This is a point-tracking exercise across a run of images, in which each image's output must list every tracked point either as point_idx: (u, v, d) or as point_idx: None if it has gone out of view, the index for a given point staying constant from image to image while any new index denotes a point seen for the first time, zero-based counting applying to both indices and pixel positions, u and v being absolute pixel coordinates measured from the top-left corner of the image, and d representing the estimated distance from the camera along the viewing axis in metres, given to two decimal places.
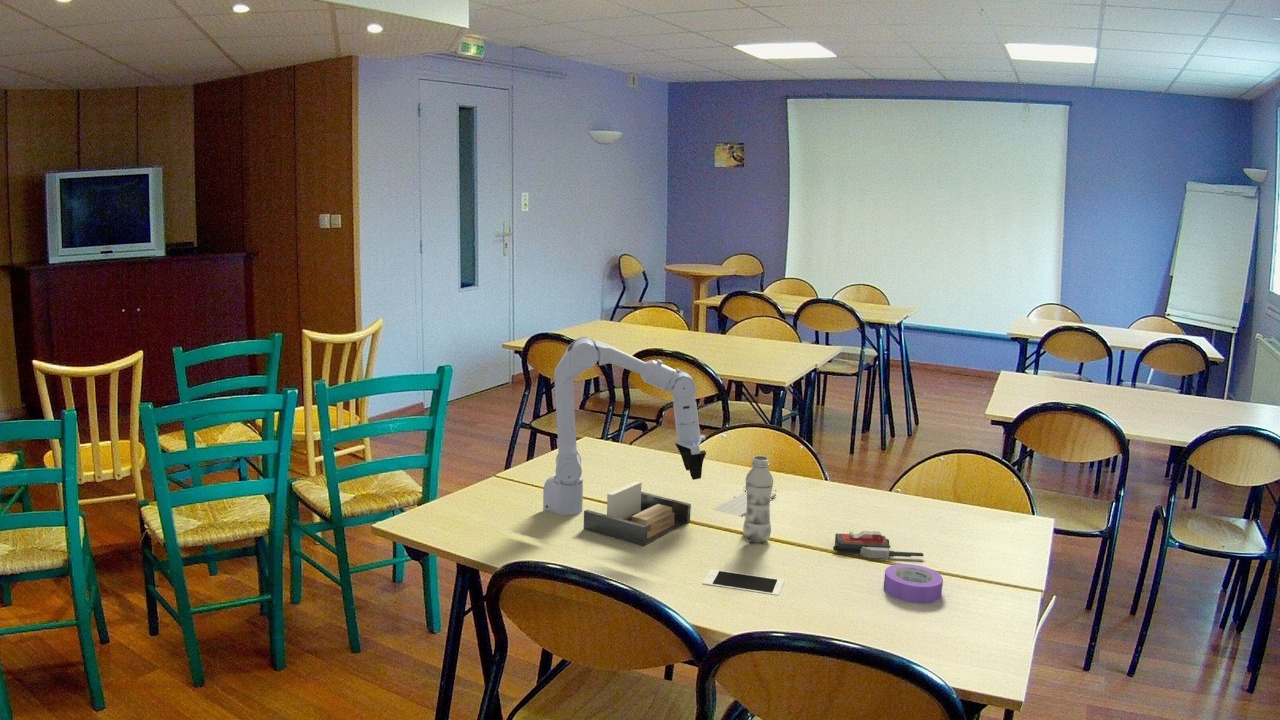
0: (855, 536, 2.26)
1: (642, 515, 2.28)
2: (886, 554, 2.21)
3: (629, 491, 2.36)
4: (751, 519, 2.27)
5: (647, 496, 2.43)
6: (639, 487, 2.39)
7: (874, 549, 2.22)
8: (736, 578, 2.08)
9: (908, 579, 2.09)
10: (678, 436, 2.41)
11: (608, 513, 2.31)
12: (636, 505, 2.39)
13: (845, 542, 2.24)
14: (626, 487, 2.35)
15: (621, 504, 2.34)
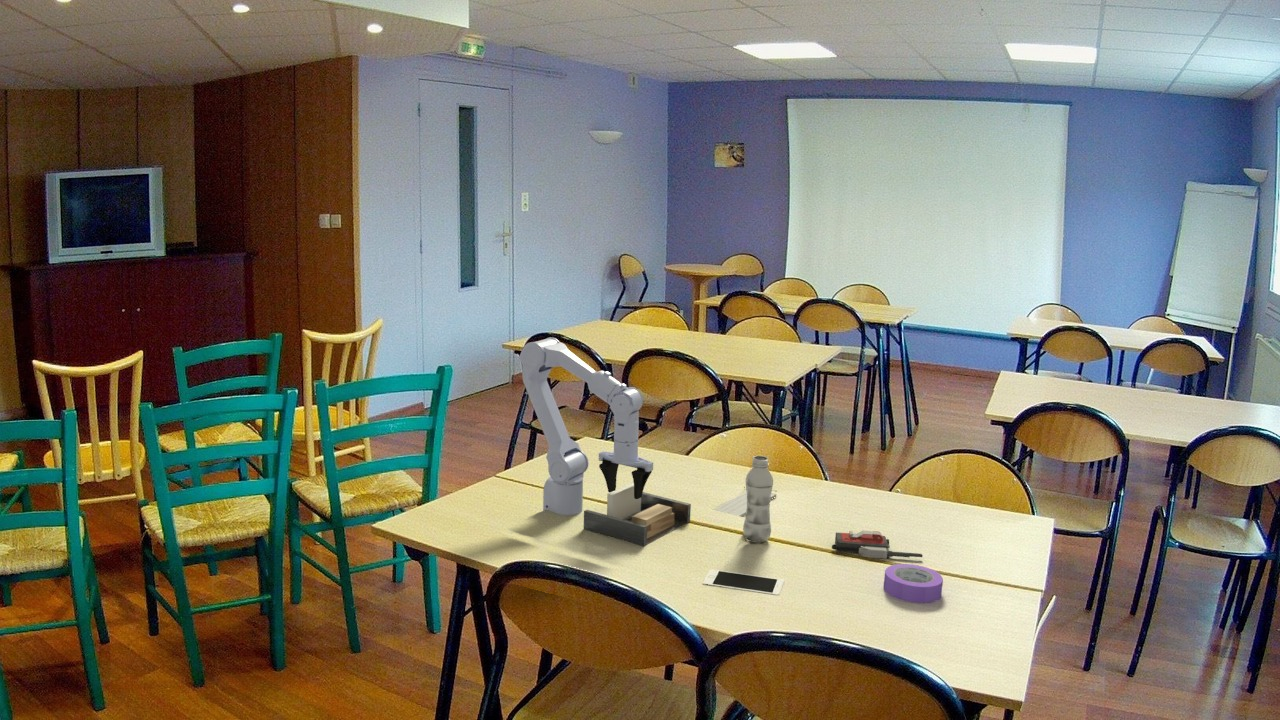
0: (854, 535, 2.27)
1: (642, 515, 2.28)
2: (884, 554, 2.21)
3: (629, 491, 2.36)
4: (751, 519, 2.27)
5: (647, 496, 2.43)
6: None
7: (872, 549, 2.22)
8: (736, 578, 2.08)
9: (908, 579, 2.09)
10: (622, 455, 2.31)
11: (608, 513, 2.31)
12: (636, 505, 2.39)
13: (844, 541, 2.25)
14: (626, 487, 2.35)
15: (621, 504, 2.34)
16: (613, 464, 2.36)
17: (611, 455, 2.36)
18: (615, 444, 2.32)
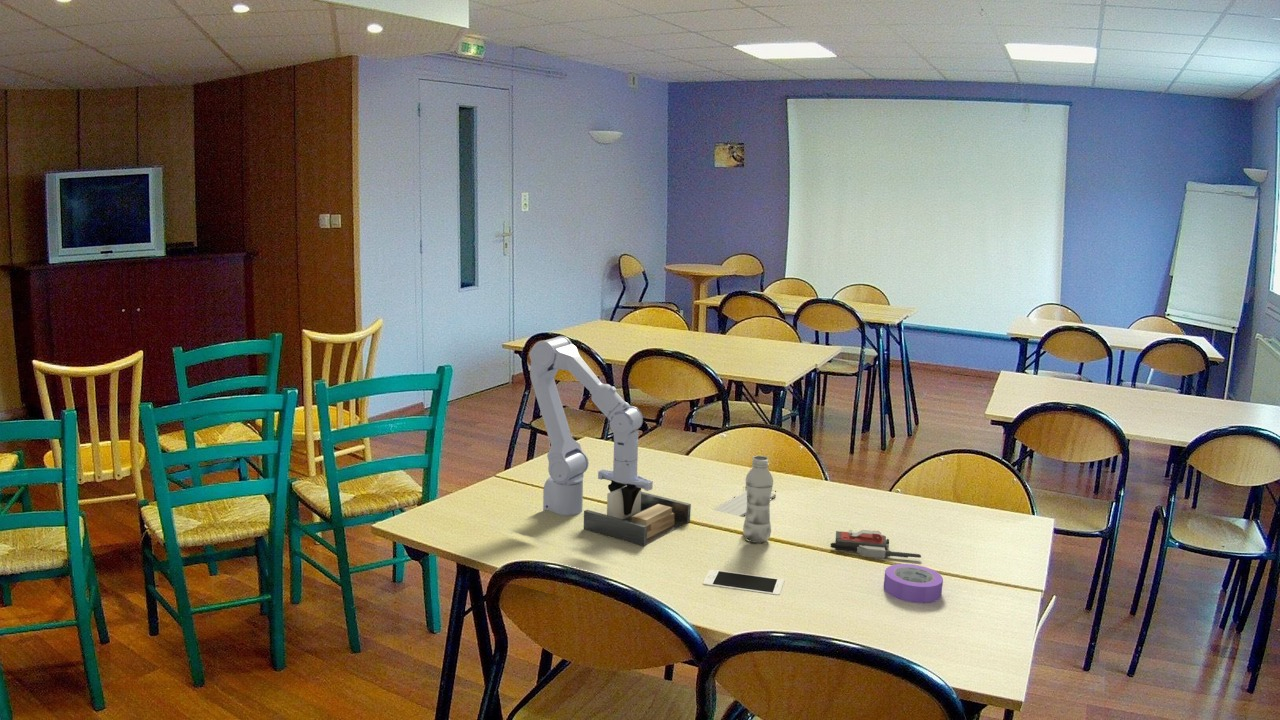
0: (854, 534, 2.27)
1: (642, 515, 2.28)
2: (882, 553, 2.22)
3: None
4: (751, 519, 2.27)
5: (647, 496, 2.43)
6: None
7: (870, 548, 2.23)
8: (736, 578, 2.08)
9: (908, 579, 2.09)
10: (621, 474, 2.32)
11: (608, 513, 2.31)
12: (636, 505, 2.39)
13: (842, 540, 2.26)
14: None
15: (621, 504, 2.34)
16: (622, 485, 2.36)
17: (610, 473, 2.37)
18: (615, 463, 2.32)
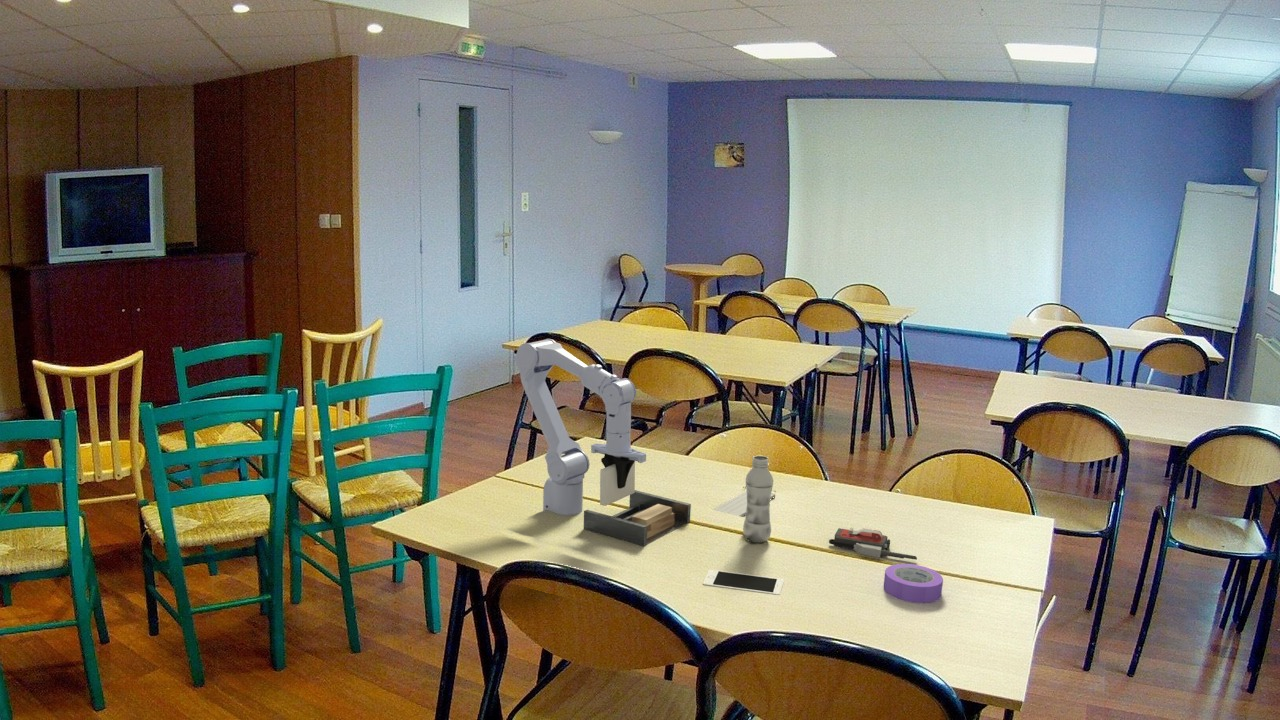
0: (854, 532, 2.29)
1: (642, 515, 2.28)
2: (877, 552, 2.22)
3: None
4: (751, 519, 2.27)
5: (647, 496, 2.43)
6: (633, 464, 2.37)
7: (866, 546, 2.23)
8: (736, 578, 2.08)
9: (908, 579, 2.09)
10: (614, 447, 2.29)
11: (601, 489, 2.29)
12: (630, 482, 2.37)
13: (841, 536, 2.27)
14: None
15: (615, 480, 2.31)
16: (615, 458, 2.33)
17: (604, 447, 2.34)
18: (607, 435, 2.30)
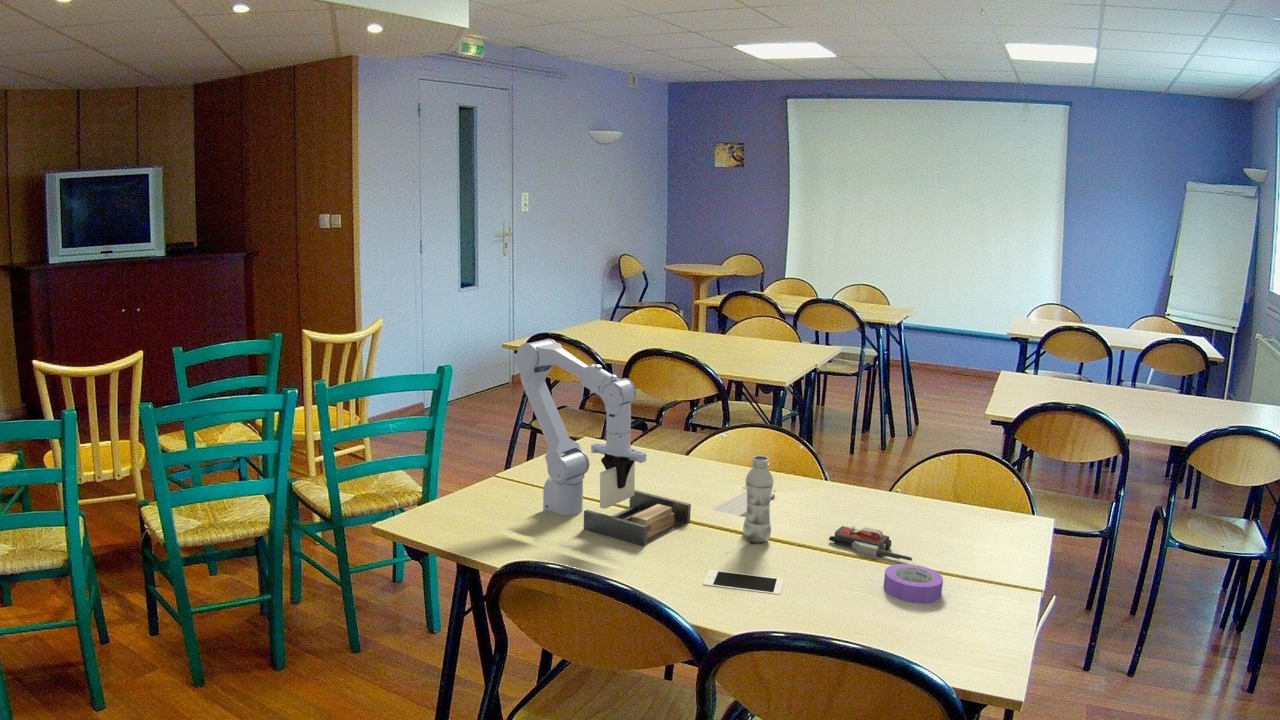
0: (855, 531, 2.30)
1: (642, 515, 2.28)
2: (873, 551, 2.23)
3: None
4: (751, 519, 2.27)
5: (647, 496, 2.43)
6: (632, 466, 2.37)
7: (863, 545, 2.24)
8: (736, 578, 2.08)
9: (908, 579, 2.09)
10: (614, 447, 2.29)
11: (601, 492, 2.29)
12: (630, 484, 2.37)
13: (840, 534, 2.29)
14: None
15: (615, 483, 2.31)
16: (615, 458, 2.33)
17: (604, 447, 2.34)
18: (607, 435, 2.30)
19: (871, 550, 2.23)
